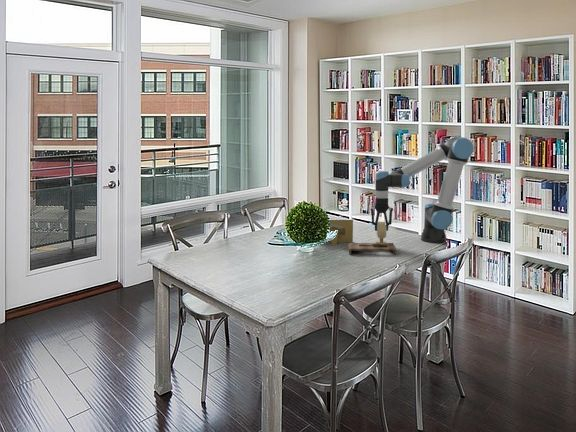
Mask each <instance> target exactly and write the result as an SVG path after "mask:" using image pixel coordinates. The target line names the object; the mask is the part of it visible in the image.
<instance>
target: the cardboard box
mask: <svg viewBox="0 0 576 432" xmlns="http://www.w3.org/2000/svg"><path fill="white" fill-rule="evenodd" d="M329 220H330V232H331V231H335V230H338V233H337V235H336V237H335V238H334V239H333V240H331V241H330V242H329V243H331V246H335V245H338V244H337V243H354V242H353V241H354V220H353V219H329Z"/></svg>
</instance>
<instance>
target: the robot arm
mask: <svg viewBox="0 0 576 432" xmlns="http://www.w3.org/2000/svg"><path fill="white" fill-rule="evenodd" d="M473 153H474V144H473V142H472V141H471V140H470V139H469V138H467V137H464V136H463V137H462V136H461V137H460V136H454V137H451V138H450V139H448V140H446V141H444V142H443V143H441V144H439V145H438V146H437V148H436V149H434V150H431V151H430V152H428V153H427V154H425V155H423V156H421V157H419V158H417V159H415V160H414V161H412V162H410V163H408V164H407V165H405V166H403V167H400V168H399V169H397V170H396V171H395V170H394V171H391V172H390V173H389V171H387V170H378V171H376V172H375V179H374V181H375V187H374V188H375V189H374V190H375V199H374V200H375V201H374V207H370V212H371V213H370V214H371V225H373V226H374V231H375V232H376V237H377V238H378V222H379V218H380V214H383V215H384V222H385V238H386V237H387V232H388V231H389V226H391V225H392V221H393V211H394V208H393V207H390V206H389V188H407V187H409V186H410V180H411V179H410V178H411V177H413V176H415V175H417V174H420V173H421V172H423V171H424V170H425V171H426V169H429V168H430V167H432V166H434V165H436V164H437V163H440V162H442V161H443V160H446V161H447V165H446V169H445V173H444V176H443V180H442V183H441V187H440V191H439V193H438V198H437V201H436V202H433V203H426V204H425V205H424V220H423V221H424V223H423V224H424V226H423V230H422V233H421V236H420V240H421V241H423V242H426V243H445V242H446V241H447V234H446V231H445V230H446V229H448V228H449V227H450V226H452V224H453V211H454V207H453V204H454V203H453V202H454V199H455V195H456V192H457V188H458V186H459V182H460V179H461V176H462V172H463V169H464V166H465V165H466V164H468V161H469V159H470V157H471V156H472V155H473ZM375 211H376V216H375ZM387 211H389V213H388V215H387Z"/></svg>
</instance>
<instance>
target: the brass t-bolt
mask: <svg viewBox="0 0 576 432" xmlns="http://www.w3.org/2000/svg"><path fill="white" fill-rule="evenodd" d="M377 225H378V237H377V238H378V239H379V241H375V243H387V241H384V239H385V238H386V237H385V225H386V222H385V221H378V224H377Z"/></svg>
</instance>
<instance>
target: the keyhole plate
mask: <svg viewBox="0 0 576 432" xmlns="http://www.w3.org/2000/svg"><path fill="white" fill-rule="evenodd" d="M347 250H348V255H352V251H392V254H393V255H397V247H396V245H395V244H394V242H386V243H376V242H347Z"/></svg>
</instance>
